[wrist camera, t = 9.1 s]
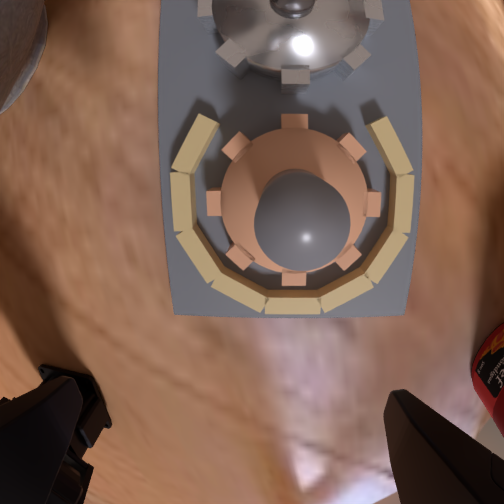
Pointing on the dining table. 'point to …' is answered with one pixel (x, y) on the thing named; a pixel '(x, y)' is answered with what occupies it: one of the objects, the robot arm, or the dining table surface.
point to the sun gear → (292, 37)
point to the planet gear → (293, 200)
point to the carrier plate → (269, 119)
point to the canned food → (491, 376)
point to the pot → (20, 45)
